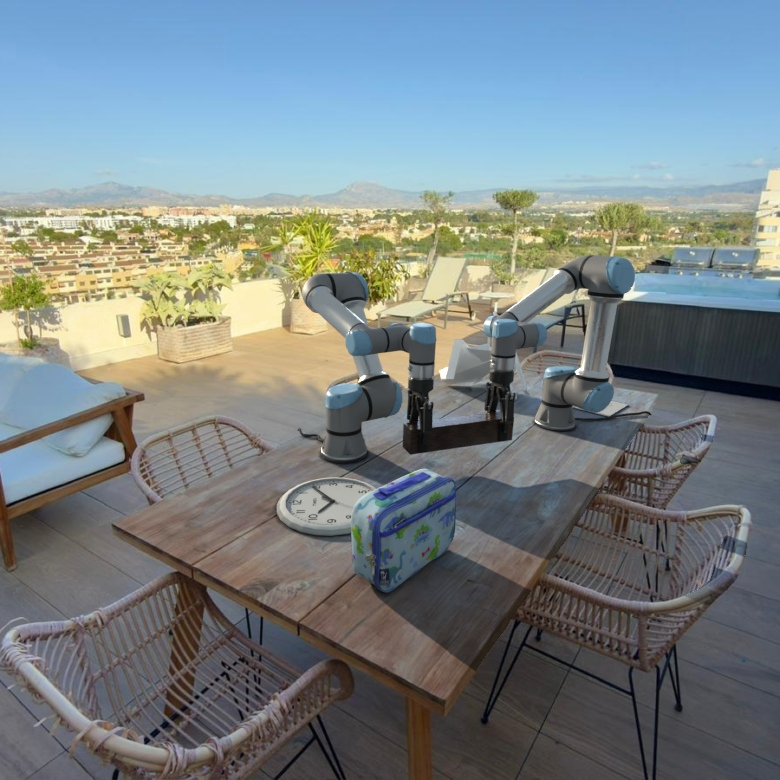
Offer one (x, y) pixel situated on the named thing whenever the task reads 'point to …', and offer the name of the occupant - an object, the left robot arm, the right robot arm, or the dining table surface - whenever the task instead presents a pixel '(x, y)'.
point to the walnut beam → (456, 432)
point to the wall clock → (322, 505)
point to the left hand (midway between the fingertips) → (418, 447)
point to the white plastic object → (474, 365)
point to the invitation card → (610, 408)
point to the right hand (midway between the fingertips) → (496, 436)
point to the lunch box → (402, 527)
